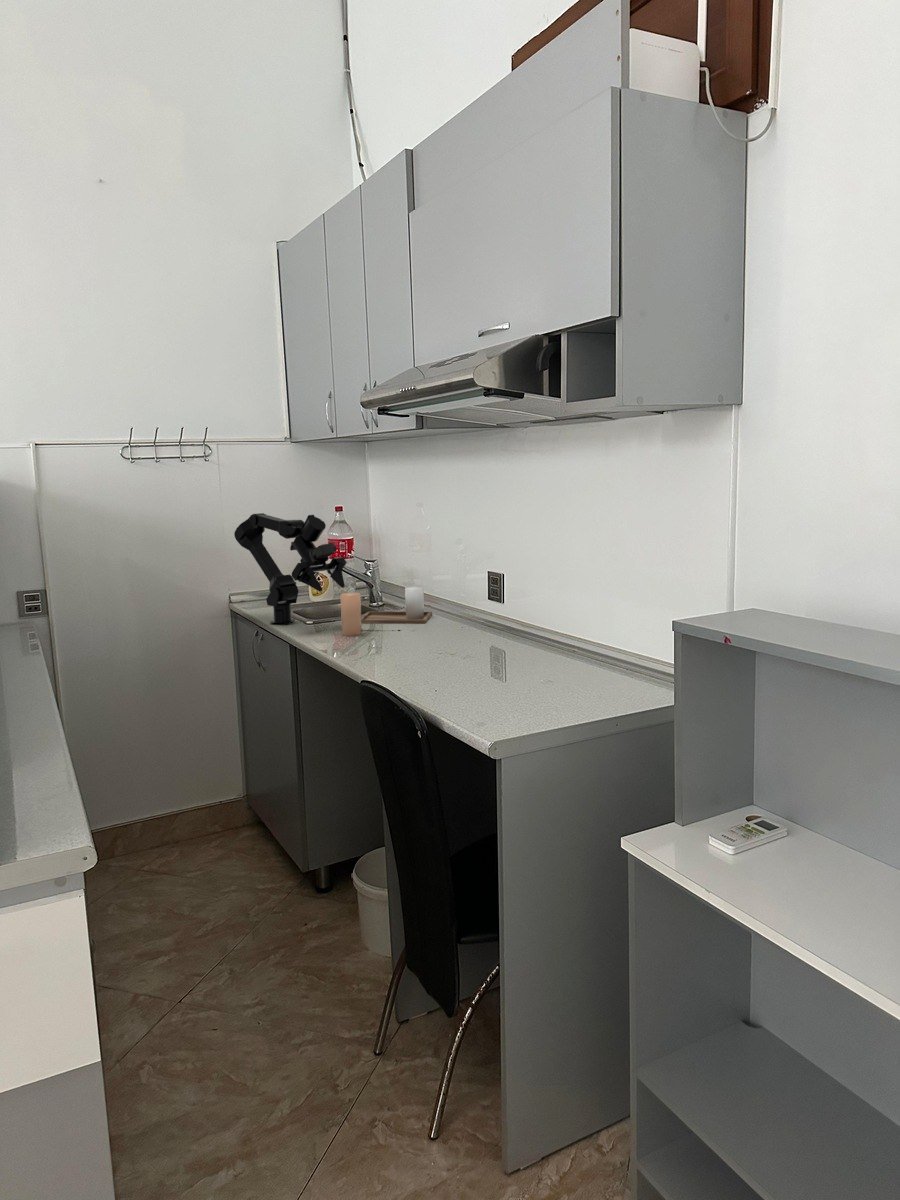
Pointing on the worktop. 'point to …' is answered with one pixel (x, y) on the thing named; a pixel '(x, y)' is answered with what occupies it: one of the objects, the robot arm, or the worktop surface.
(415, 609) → the white rounded cylinder
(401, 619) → the walnut tray
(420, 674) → the worktop surface
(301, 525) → the robot arm
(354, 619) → the peach tapered cylinder
